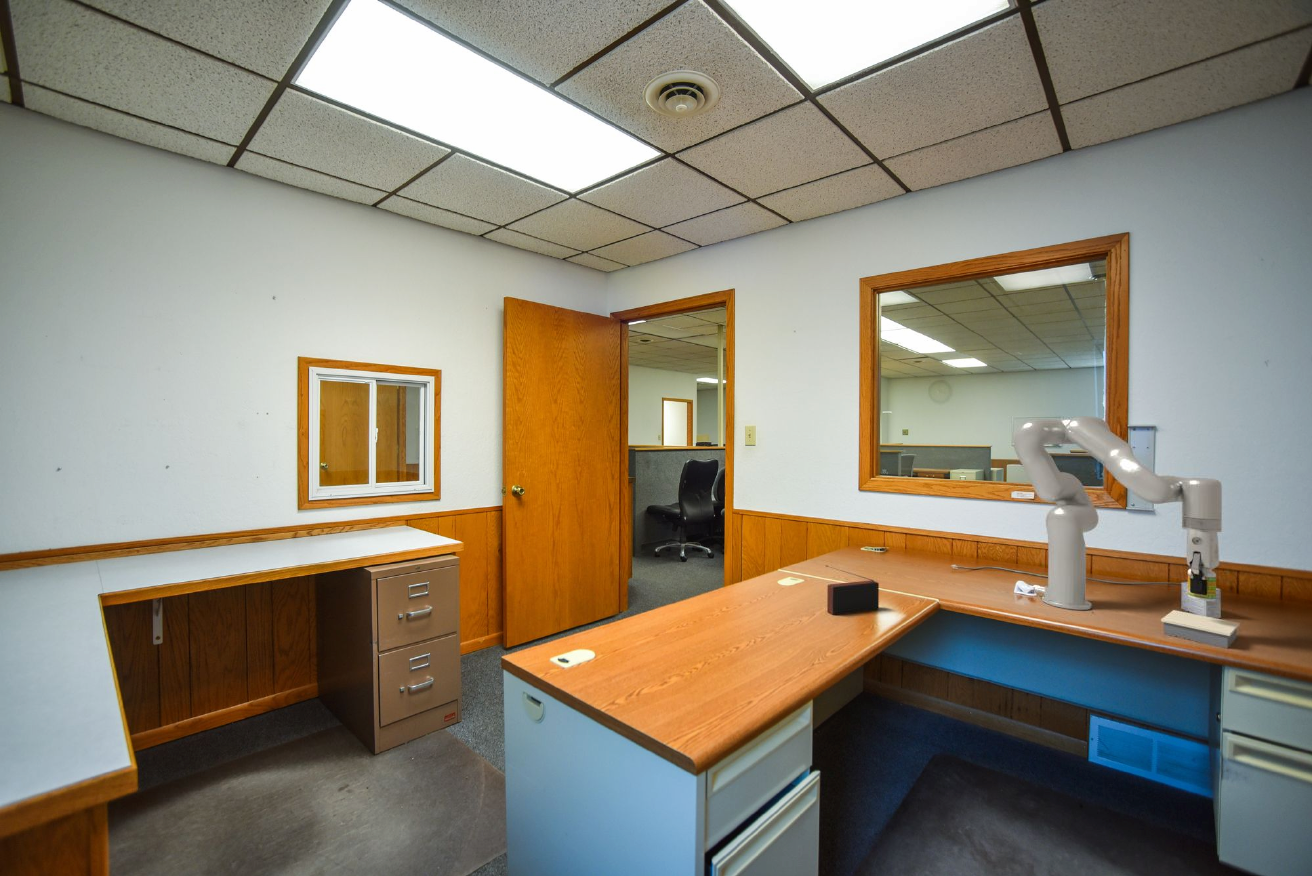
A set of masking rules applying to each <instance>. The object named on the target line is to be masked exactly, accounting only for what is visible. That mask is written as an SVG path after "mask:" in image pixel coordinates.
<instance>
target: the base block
mask: <svg viewBox="0 0 1312 876" xmlns="http://www.w3.org/2000/svg"><path fill="white" fill-rule="evenodd" d="M1160 622H1162V623H1163V634H1164V635H1166V634H1168V635H1167V636H1170V635H1171V636H1172V637H1175V636H1177V637H1176V638H1179V637H1183V638H1185V640H1188V639H1191V640H1190V641H1192V640H1193V641H1192V642H1197V641H1198V643H1201V644H1205V643H1206V645H1210V646H1211V645H1212V646H1215V647H1220V648H1222V649H1223V648H1224V649H1228V648H1229V647H1230V646H1231V645H1232V644H1233V643H1234V641H1235V640H1237V632H1238V631H1237V629H1238V628H1239V627H1240V626H1241V625H1240V624H1241V623H1240V622H1235V621H1229V620H1224V619H1222V618H1221V619H1220V618H1211V617H1206V616H1201V615H1197V614H1194V613H1191V612H1187V611H1180V610H1175V609H1173V610H1172V611H1170V612H1169V613H1168V614H1166V615H1164V617H1162V618H1161V619H1160ZM1171 636H1170V637H1171ZM1183 638H1182V639H1183Z"/></svg>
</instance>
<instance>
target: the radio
mask: <svg viewBox="0 0 1312 876" xmlns="http://www.w3.org/2000/svg"><path fill="white" fill-rule="evenodd" d="M825 567H826V568H831V569H833V570H837V571H839V572H843V573H847V574H850V575H853V576H857V577H860V578H862V579H866V580H860V581H850V582H840V583H839V582H838V583H832V584H831V583H830V584H827V588H826V589H827V597H826V598H827V600H826V601H827V604H826V607H827V608H826V609H827V613H828V614H831V615H832V616H837V615H846V614H853V613H855V614H856V613H863V612H871V611H878V610H879V608H880V607H879V606H880V605H879V604H880V603H879V602H880V601H879V599H880V598H879V596H880V595H879V592H880V587H879V586H880V585H879V584H880V583H879V582H877V581H875V580H874V579H872V578H868V577H865V576H861V575H859V574H855V573H851V572H849V571H845V570H842V569H838V568H835V567H832V566H830V565H829V566H828V565H825Z"/></svg>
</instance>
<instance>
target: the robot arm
mask: <svg viewBox="0 0 1312 876" xmlns="http://www.w3.org/2000/svg"><path fill="white" fill-rule="evenodd" d="M1045 445H1046V446H1047V445H1076V446H1078V447H1079V448H1080V449H1081V450H1082V451H1085V453H1087V454H1088V455H1089V456H1091V457H1092V458H1094V459H1095V460H1097V462H1099V463H1101V465H1103V466H1104V467H1105V468H1106V470H1107V471H1108V472H1109V473H1110V474H1111V475H1112V477H1114V479H1115V480H1116V481H1117V482H1118V483H1120V485H1122V486H1124V488H1126V489H1128V490H1129V491H1130V492H1131V493H1133V494H1134V495H1136V497H1138V498H1140V499H1141V500H1143V501H1145V502H1146V503H1150V504H1153V505H1154V504H1155V505H1161V504H1169V503H1179V502H1180V503H1181V509H1182V510H1181V528H1182V529H1183V530H1186V535H1187V536H1186V565H1188V566H1189V567H1190V569H1191V577H1190V592H1191V593H1195V594H1201V595H1207V580H1206V568H1209V569H1210V570H1211V571H1213V569H1216V568H1217V567H1218V566H1219V565H1220V552H1219V551H1220V549H1219V536H1218V533H1221V532H1222V531H1223V530H1222V528H1223V527H1222V525H1223V523H1222V521H1223V520H1222V515H1223V514H1222V513H1223V512H1222V510H1223V509H1222V507H1223V506H1222V505H1223V503H1222V501H1223V500H1222V497H1223V493H1222V491H1223V487H1222V483H1221V482H1220V480H1219V479H1215V478H1205V477H1190V478H1189V477H1182V476H1175V475H1158V474H1156V473H1155V472H1153V470H1151V469H1149V468H1148V467H1146V466H1145V465H1144V464H1142V463H1141V462H1140V461H1139V459H1137V458H1136V457H1135V454H1134V453H1133V447H1132V446H1131V444H1129V443H1128V442H1126V441H1125V440H1124V439H1122V438H1120V437H1119V436H1117V435H1116V434H1115V433H1113V432H1112V431H1111V429H1110V425H1109V424H1108V423H1107V421H1105V420H1104V419H1102V418H1101V417H1097V416H1087V415H1086V416H1083V415H1082V416H1076V417H1074V418H1060V419H1057V418H1055V419H1051V418H1049V419H1047V418H1046V419H1045V418H1035V419H1030V420H1028V421H1025V422H1024V423H1022V424H1021V425H1020V426H1019V427H1018V428H1017V430H1016V432H1015V434H1014V437H1013V448H1014V451H1015V454H1016V456H1017V458H1018V459H1019V461H1020V464H1021V465H1022V467H1023V468H1024V471H1025V473H1026V476H1027V477H1028V479H1029V481H1030V484H1031V486H1032V488H1033V489H1034V492H1035V494H1036V495H1037V497H1038V498H1039V499H1040V500H1042V501H1044V502H1046V503H1055V504H1056V506H1054V507H1052V508H1051V509H1050V510H1049V511H1048V512H1047V515H1046V517H1045V527H1046V532H1047V540H1048V541H1047V542H1048V547H1047V548H1048V549H1047V550H1048V567H1047V568H1048V569H1047V571H1048V573H1047V574H1048V575H1047V576H1048V577H1047V583H1048V584H1047V585H1045V586H1042V585H1040V584H1039V585H1038V584H1034V585H1033V591H1035V592H1036V593H1040V594H1041V593H1042V594H1043V595H1042V597H1041V600H1042V602H1044V603H1046V604H1047V605H1050V606H1053V607H1058V608H1062V609H1065V610H1066V609H1067V610H1073V611H1074V610H1075V611H1076V610H1077V611H1087V610H1090V609H1092V608H1093V605H1092V603H1091V602H1090V601H1088V600H1086V582H1087V581H1086V577H1087V575H1086V574H1087V569H1086V567H1087V566H1086V565H1087V549H1086V542H1085V537H1084V533H1087V532H1090V531H1093V530H1094V529H1095V528H1096V527H1097V526H1098V524H1099V514H1098V512H1097V509H1096V507H1095V505H1094V504H1093V502H1092V500H1091V498H1090V496H1089V494H1088V492H1087V491H1086V488H1085V487H1084V485H1083V484H1082V482H1081V481H1080V480H1079V478H1077V477H1076V476H1075V475H1073V474H1072V473H1070V472H1069V473H1068V472H1065V471H1063V472H1062V471H1060V470H1059V469H1058V466H1057V465H1056V463H1055V460H1054V459H1053V457H1052V455H1051V454H1050V453H1049V452H1048V451H1047V450H1046V448H1045ZM1191 561H1192V563H1191ZM1200 565H1202V566H1204V568H1203V567H1199V566H1200ZM1201 570H1203V572H1202V571H1201Z"/></svg>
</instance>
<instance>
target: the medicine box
mask: <svg viewBox="0 0 1312 876" xmlns="http://www.w3.org/2000/svg"><path fill="white" fill-rule="evenodd" d="M1221 595H1222V594H1221V589H1220V588H1217V587H1216V600H1215V601H1203V600H1197V599H1193V598H1190V597H1188V581H1184V582H1181V599H1180V600H1181V603H1180V605H1181V606H1180V607H1181V610H1182V609H1183V610H1182V611H1184V612H1188V611H1189V612H1188V613H1191V614H1196V615H1201V616H1206V617H1211V618H1216V619H1220V618H1221V619H1222V616H1221V615H1222V614H1221V613H1222V612H1221V610H1222V609H1221V602H1222V601H1221V599H1222V597H1221Z"/></svg>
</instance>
